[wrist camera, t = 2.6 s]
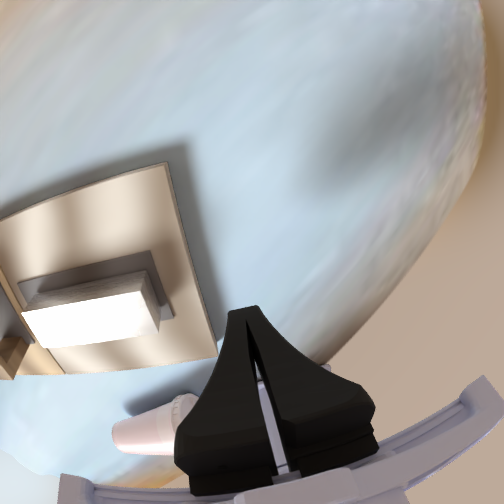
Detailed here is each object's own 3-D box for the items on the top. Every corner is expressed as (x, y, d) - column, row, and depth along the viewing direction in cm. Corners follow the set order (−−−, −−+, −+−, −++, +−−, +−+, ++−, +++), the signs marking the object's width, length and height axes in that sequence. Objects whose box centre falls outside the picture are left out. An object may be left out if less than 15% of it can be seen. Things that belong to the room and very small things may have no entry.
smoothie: (150, 443, 26) (260, 418, 24) (129, 475, 19) (255, 460, 18) (121, 400, 26) (231, 367, 24) (92, 429, 19) (218, 403, 18)
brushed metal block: (146, 269, 16) (140, 290, 14) (161, 310, 17) (158, 333, 15) (34, 294, 15) (21, 313, 13) (53, 327, 16) (43, 347, 14)
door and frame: (167, 161, 15) (150, 181, 10) (216, 342, 22) (224, 399, 17) (-50, 245, 13) (-85, 277, 8) (17, 364, 20) (-1, 404, 15)
